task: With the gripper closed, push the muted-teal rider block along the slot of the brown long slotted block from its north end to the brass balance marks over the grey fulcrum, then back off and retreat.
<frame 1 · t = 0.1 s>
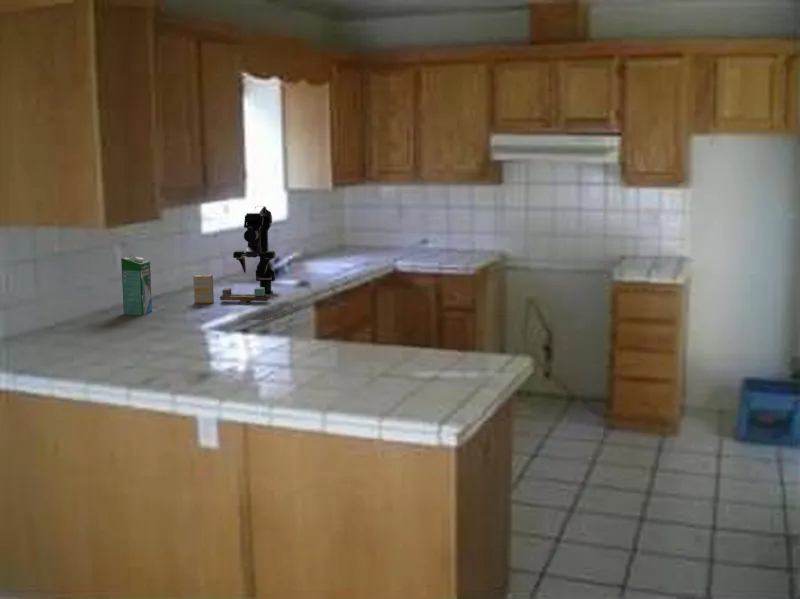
hand: (254, 272, 428), 15 cm above the worktop, fingers open, 9 cm apart
milk carton: (138, 313, 407), on the worktop
supplement box: (204, 303, 432), on the worktop
brown long slotted block: (245, 302, 433), on the worktop
rider: (259, 293, 432), point 4 cm above the worktop, slide at 7.0 cm
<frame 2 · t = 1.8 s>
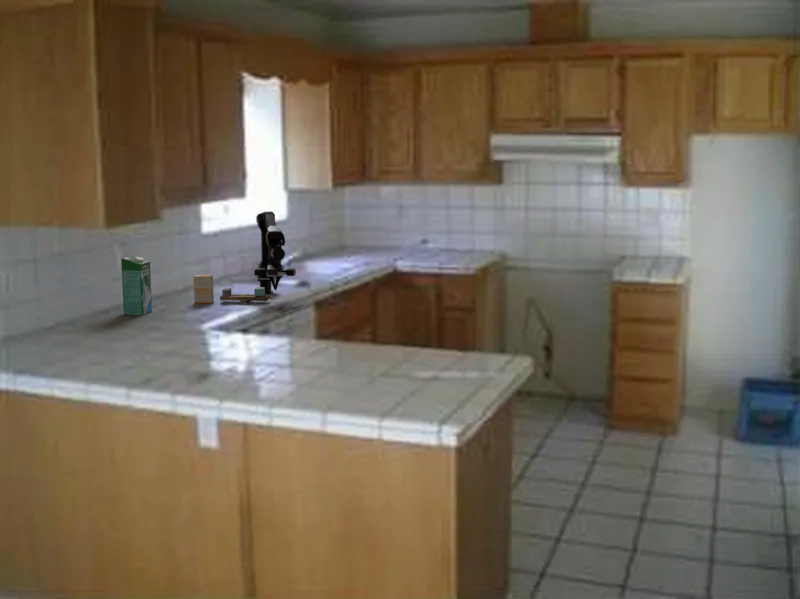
hand: (275, 290, 432), 6 cm above the worktop, fingers closed
nothing on the worktop moved.
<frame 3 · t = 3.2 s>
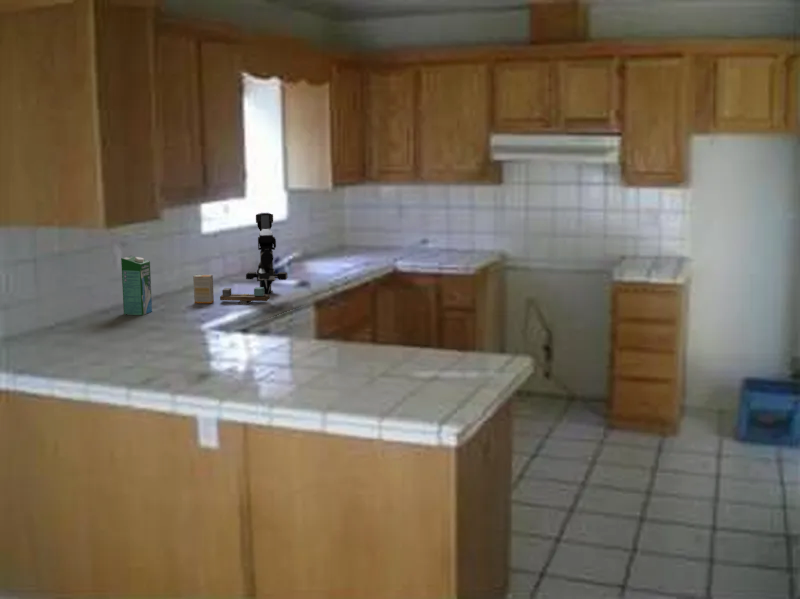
hand: (267, 293, 432), 4 cm above the worktop, fingers closed
rider: (259, 293, 432), point 4 cm above the worktop, slide at 6.8 cm, touching gripper
everything else where it was.
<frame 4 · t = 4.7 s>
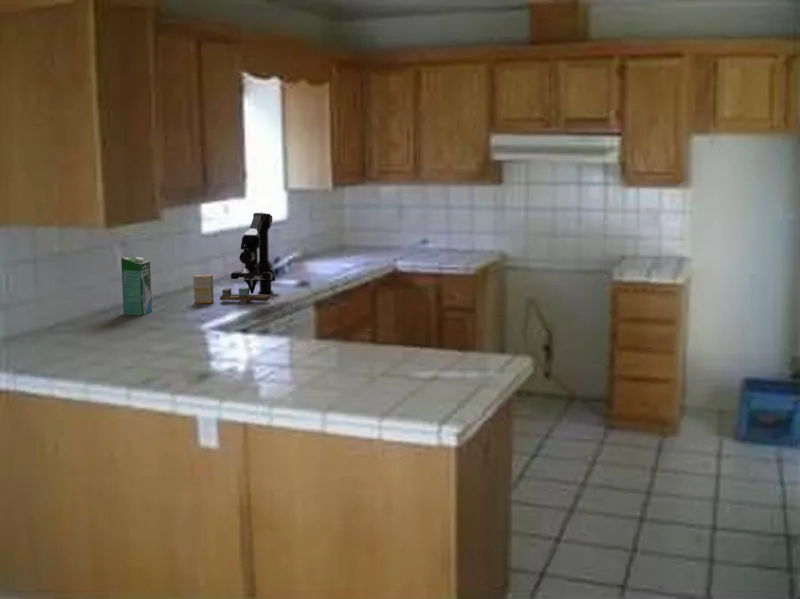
hand: (252, 293, 432), 4 cm above the worktop, fingers closed
rider: (244, 293, 432), point 4 cm above the worktop, slide at -0.3 cm, touching gripper
everything else where it was.
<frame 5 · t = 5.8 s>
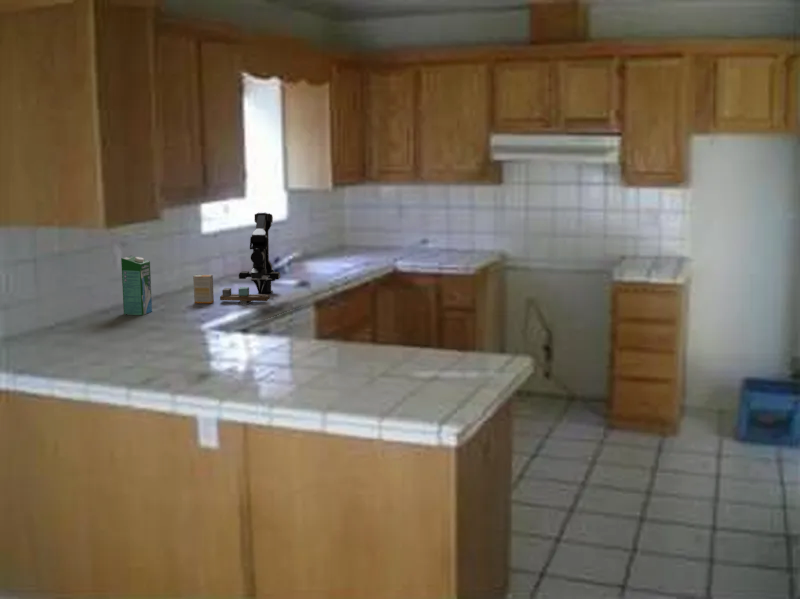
hand: (259, 293, 432), 4 cm above the worktop, fingers closed
rider: (243, 293, 432), point 4 cm above the worktop, slide at -0.4 cm
everything else where it was.
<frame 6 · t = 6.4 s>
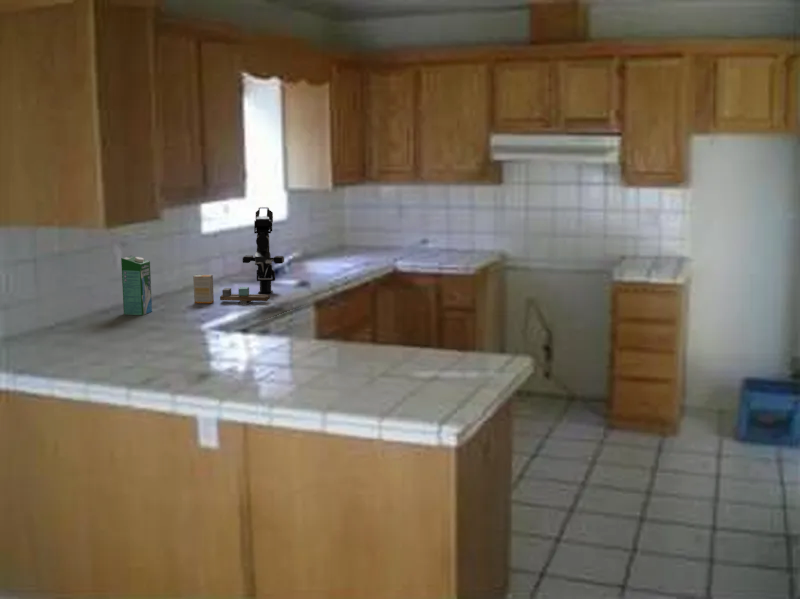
hand: (263, 277, 433), 12 cm above the worktop, fingers closed
nothing on the worktop moved.
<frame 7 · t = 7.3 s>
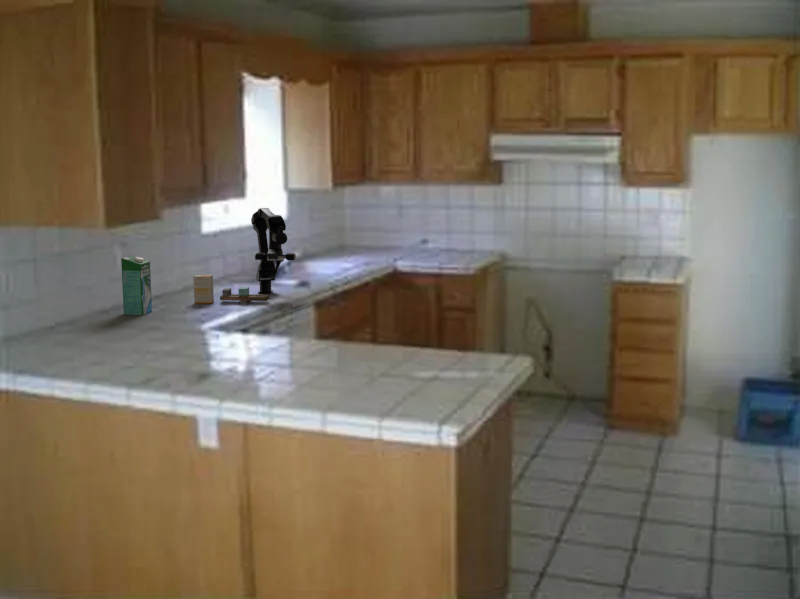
hand: (275, 274, 440), 12 cm above the worktop, fingers closed
nothing on the worktop moved.
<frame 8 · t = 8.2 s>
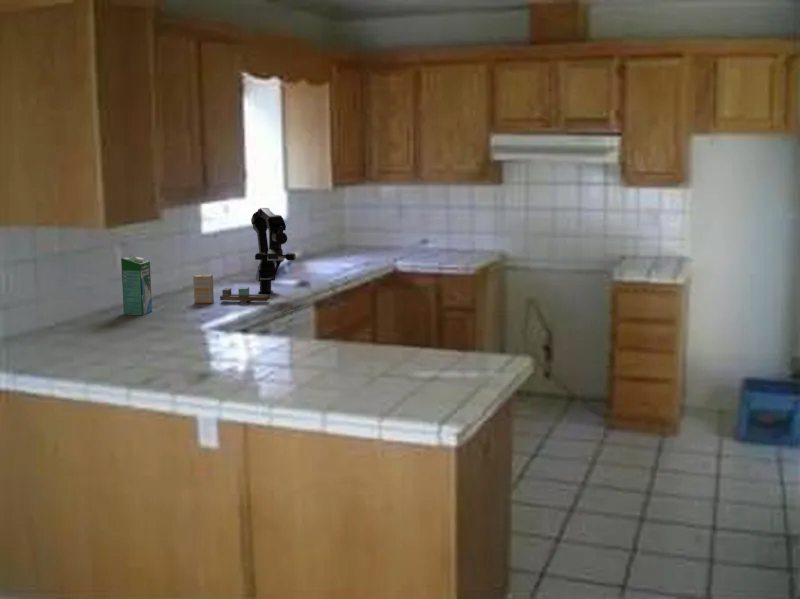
hand: (275, 274, 440), 12 cm above the worktop, fingers closed
nothing on the worktop moved.
at the end: rider slide at -0.4 cm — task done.
